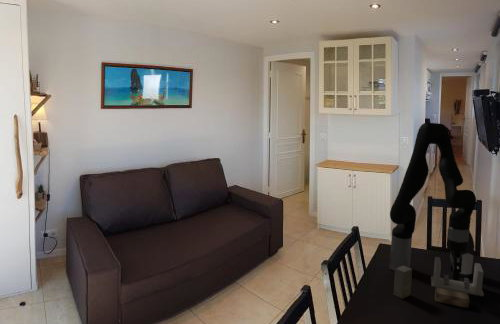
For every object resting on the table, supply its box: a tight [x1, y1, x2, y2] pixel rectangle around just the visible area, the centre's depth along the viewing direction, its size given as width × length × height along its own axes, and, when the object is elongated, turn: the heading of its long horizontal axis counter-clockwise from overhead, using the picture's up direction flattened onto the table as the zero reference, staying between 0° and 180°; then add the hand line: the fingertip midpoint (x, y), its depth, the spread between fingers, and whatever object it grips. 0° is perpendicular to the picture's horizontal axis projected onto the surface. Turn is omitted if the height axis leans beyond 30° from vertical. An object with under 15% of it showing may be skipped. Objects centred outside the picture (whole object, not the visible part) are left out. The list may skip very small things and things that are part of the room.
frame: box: [430, 256, 485, 297], centre depth 161 cm, size 20×9×11 cm, turn 65°
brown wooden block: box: [434, 287, 470, 309], centre depth 149 cm, size 12×5×4 cm, turn 65°
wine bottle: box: [457, 217, 475, 278], centre depth 172 cm, size 8×8×30 cm
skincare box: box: [393, 265, 413, 299], centre depth 154 cm, size 6×4×12 cm
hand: (454, 275), depth 147 cm, fingers open, 8 cm apart
